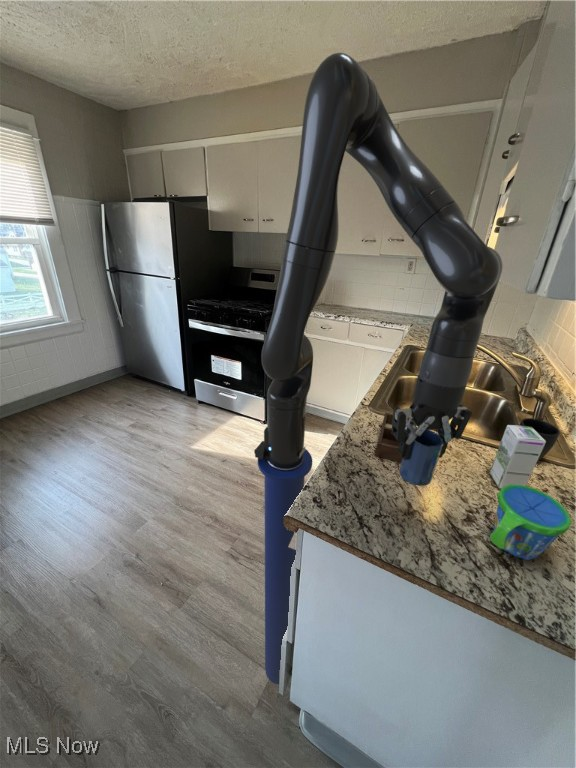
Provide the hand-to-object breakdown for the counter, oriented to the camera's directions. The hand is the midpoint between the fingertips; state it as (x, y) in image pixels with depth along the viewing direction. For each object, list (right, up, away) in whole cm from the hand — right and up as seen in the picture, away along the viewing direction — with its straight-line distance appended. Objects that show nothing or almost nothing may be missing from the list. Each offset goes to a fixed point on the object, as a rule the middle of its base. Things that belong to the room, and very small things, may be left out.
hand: (420, 455), depth 59 cm
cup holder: (+6, -3, +30) cm, 30 cm away
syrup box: (+27, -10, +16) cm, 34 cm away
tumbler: (0, -4, +2) cm, 5 cm away
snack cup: (+19, -17, +1) cm, 25 cm away
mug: (+38, -6, +26) cm, 47 cm away
